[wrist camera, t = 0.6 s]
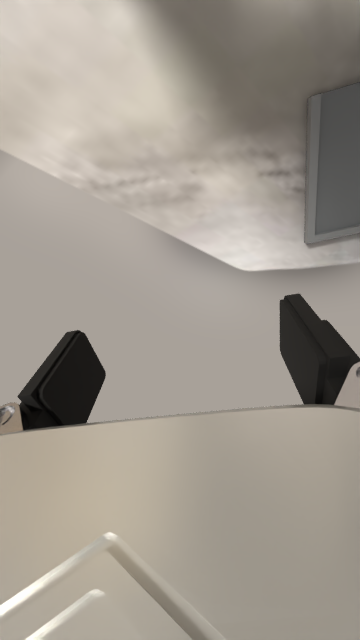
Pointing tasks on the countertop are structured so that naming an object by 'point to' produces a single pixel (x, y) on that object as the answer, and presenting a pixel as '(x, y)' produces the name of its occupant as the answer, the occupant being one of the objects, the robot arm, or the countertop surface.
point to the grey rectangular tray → (333, 165)
